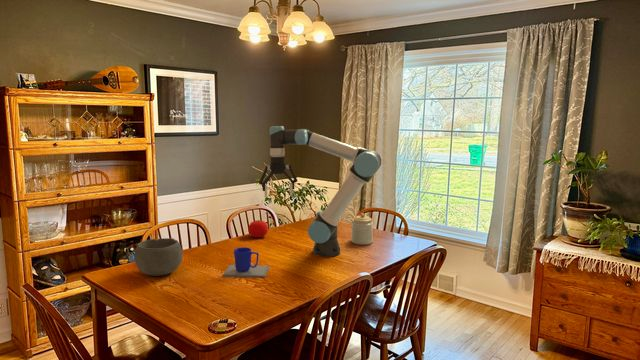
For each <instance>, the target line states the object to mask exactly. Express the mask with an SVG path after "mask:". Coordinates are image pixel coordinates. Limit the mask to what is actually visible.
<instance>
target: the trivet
mask: <svg viewBox="0 0 640 360" xmlns="http://www.w3.org/2000/svg"><path fill="white" fill-rule="evenodd" d="M255 265H256V264H251V266H255ZM269 269H270V265H260V264H259V265H258V264H257V266H256V267H255V268H252V267H250V269H249V270H248V271H244V272H240V271H237V270H236V267H235V264H229V265H228V266H227V268H226V269H225V271H224V272H223V273H222V276H221V277H223V278H266V277H267V274H268V271H269Z"/></svg>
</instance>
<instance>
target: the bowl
mask: <svg viewBox="0 0 640 360" xmlns="http://www.w3.org/2000/svg"><path fill="white" fill-rule="evenodd" d="M182 261H183V249H182V246H181V244H180V242H179V240H177V239H175V238H174V237H173V238H171V237H170V238H168V237H167V238H165V237H164V238H162V237H161V238H153V239H146V240H143V241H140V242H139V243H138V244H137V245H136V248H135V251H134V262H135V265H136V267H137V269H138V270H139V271H140V272H141V273H143V274H144V275H145V274H146V275H147V276H148V275H149V276H155V277H156V276H159V277H160V276H166V275H168V274H169V275H170V274H171V273H173V272H175V271H176V270H177V269H178V268H179V266H181V263H182Z"/></svg>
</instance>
